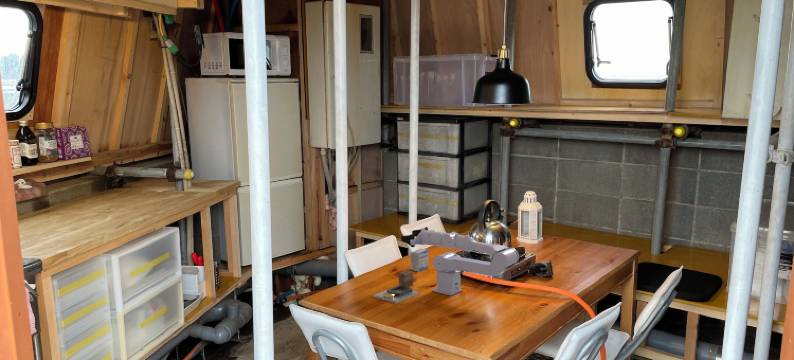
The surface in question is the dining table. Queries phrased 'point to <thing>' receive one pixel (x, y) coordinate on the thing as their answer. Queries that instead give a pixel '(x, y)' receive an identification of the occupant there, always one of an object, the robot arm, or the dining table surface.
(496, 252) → the robot arm
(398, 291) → the steel rosette plate
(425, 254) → the medicine box
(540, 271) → the caster wheel
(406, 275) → the walnut wedge block
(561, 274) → the dining table surface
